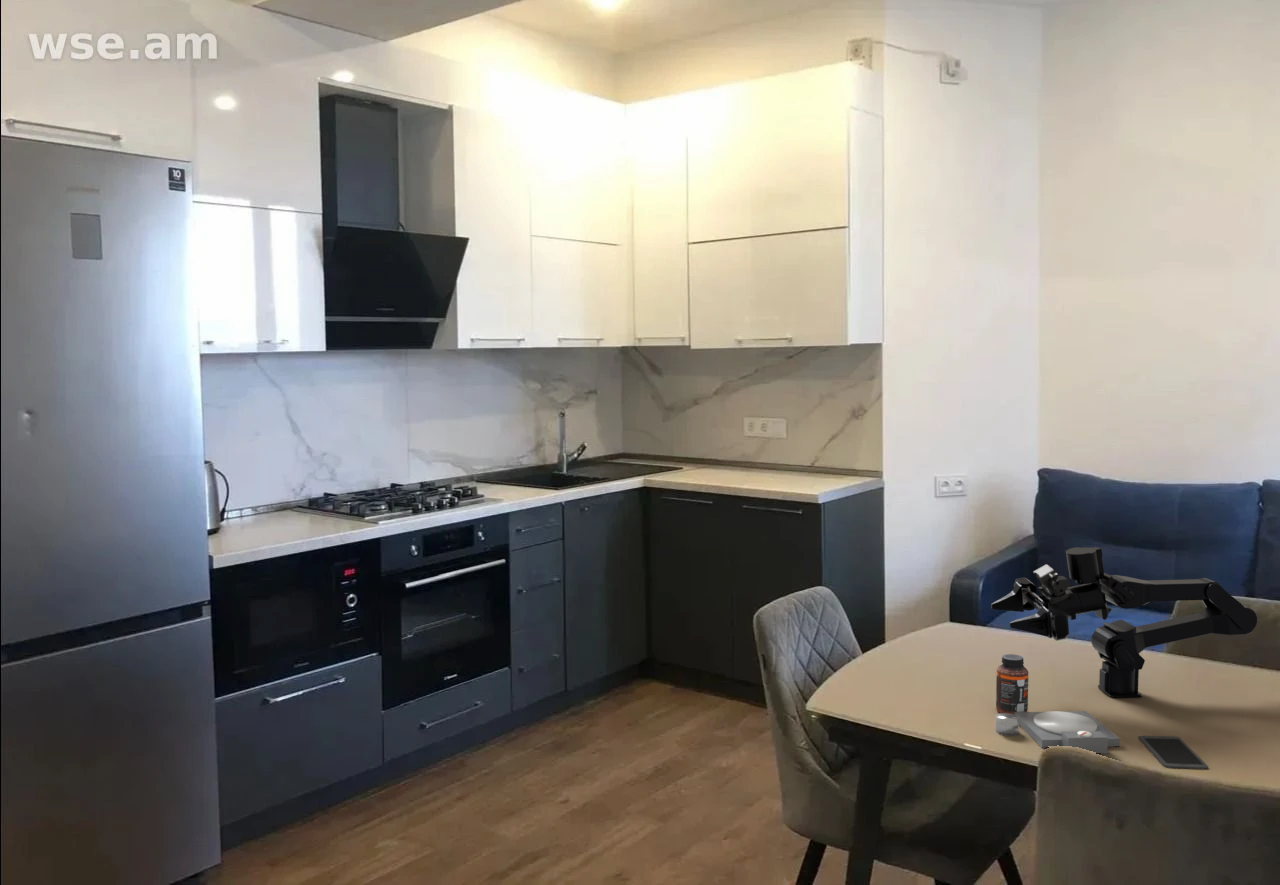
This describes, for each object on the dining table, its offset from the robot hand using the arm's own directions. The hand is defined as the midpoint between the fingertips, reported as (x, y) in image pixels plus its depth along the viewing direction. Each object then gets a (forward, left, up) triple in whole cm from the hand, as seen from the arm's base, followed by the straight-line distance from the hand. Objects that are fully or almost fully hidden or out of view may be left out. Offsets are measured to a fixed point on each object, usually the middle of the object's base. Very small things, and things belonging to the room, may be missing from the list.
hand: (1000, 615), depth 211 cm
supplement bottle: (+1, +9, -17) cm, 20 cm away
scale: (-5, +21, -17) cm, 28 cm away
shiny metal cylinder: (+5, +19, -17) cm, 26 cm away
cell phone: (-20, +30, -18) cm, 40 cm away
